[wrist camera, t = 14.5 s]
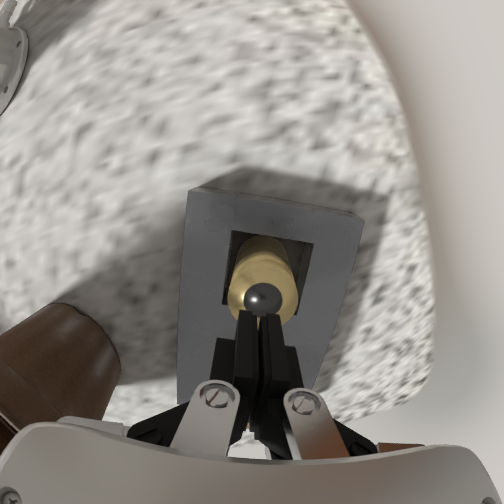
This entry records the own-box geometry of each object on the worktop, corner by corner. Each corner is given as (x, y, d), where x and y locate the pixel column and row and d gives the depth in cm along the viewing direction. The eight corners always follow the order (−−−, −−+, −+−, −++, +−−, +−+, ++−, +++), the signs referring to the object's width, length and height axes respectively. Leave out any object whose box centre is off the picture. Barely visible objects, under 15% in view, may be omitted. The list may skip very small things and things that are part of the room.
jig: (197, 186, 21) (169, 198, 14) (351, 212, 21) (388, 235, 15) (183, 384, 27) (167, 435, 20) (295, 399, 27) (301, 451, 21)
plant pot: (78, 257, 23) (-48, 348, 8) (168, 385, 27) (123, 513, 12) (11, 310, 26) (-66, 377, 10) (83, 405, 30) (35, 488, 15)
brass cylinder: (240, 231, 22) (232, 262, 15) (292, 239, 22) (305, 273, 15) (233, 279, 23) (223, 325, 16) (282, 286, 23) (290, 334, 17)
